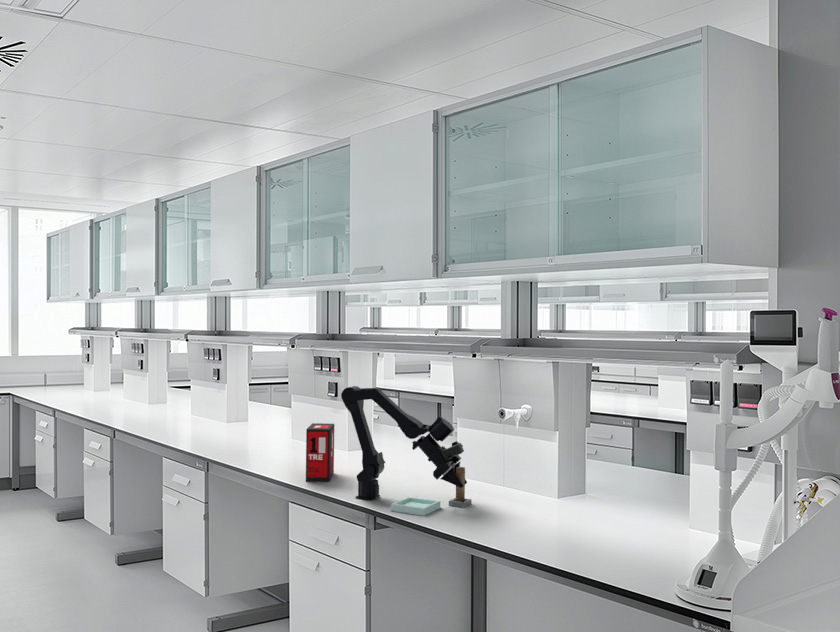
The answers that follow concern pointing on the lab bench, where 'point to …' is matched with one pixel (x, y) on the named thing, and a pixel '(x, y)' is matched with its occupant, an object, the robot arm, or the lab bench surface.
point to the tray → (415, 506)
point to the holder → (460, 503)
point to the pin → (461, 475)
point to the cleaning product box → (319, 452)
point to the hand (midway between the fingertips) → (464, 485)
